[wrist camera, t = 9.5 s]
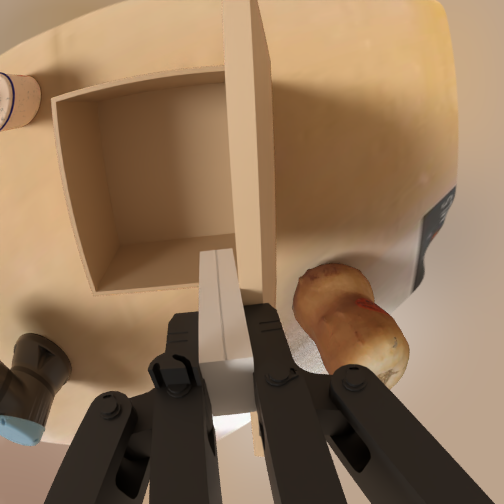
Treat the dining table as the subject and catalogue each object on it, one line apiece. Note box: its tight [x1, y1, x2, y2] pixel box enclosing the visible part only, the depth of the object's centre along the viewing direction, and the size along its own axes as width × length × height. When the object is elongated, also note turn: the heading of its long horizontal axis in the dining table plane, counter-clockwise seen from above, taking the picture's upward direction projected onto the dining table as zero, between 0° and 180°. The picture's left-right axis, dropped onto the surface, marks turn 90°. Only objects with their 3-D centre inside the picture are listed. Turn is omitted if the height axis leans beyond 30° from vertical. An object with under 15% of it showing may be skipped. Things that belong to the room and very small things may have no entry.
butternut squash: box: [292, 263, 409, 390], centre depth 44 cm, size 14×13×25 cm
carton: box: [51, 65, 239, 296], centre depth 36 cm, size 24×22×14 cm
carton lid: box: [222, 0, 276, 457], centre depth 21 cm, size 25×22×1 cm
